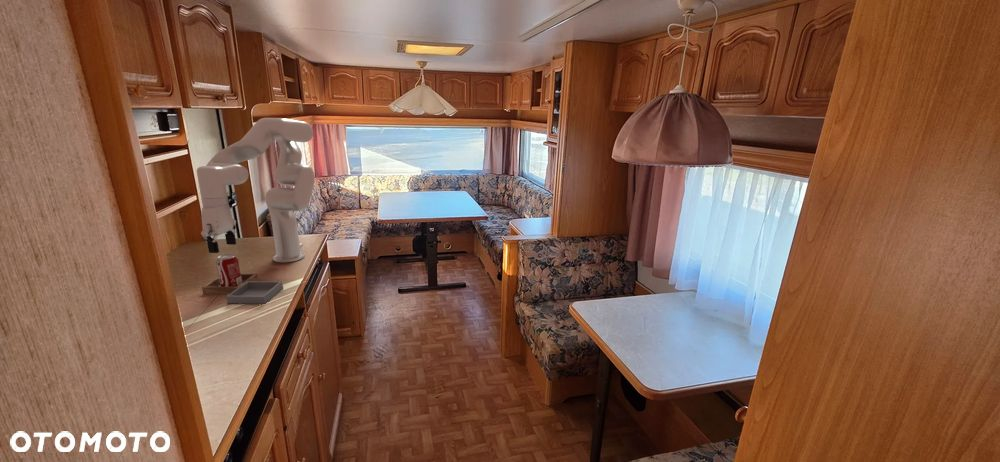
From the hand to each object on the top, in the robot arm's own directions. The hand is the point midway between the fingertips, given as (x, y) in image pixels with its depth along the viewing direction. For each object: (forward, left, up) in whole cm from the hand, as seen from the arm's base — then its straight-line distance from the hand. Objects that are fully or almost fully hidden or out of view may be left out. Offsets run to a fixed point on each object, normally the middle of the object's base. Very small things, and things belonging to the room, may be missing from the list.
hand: (223, 248), depth 145 cm
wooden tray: (-1, 0, -15) cm, 15 cm away
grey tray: (+7, +14, -15) cm, 22 cm away
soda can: (-1, 0, -16) cm, 16 cm away
